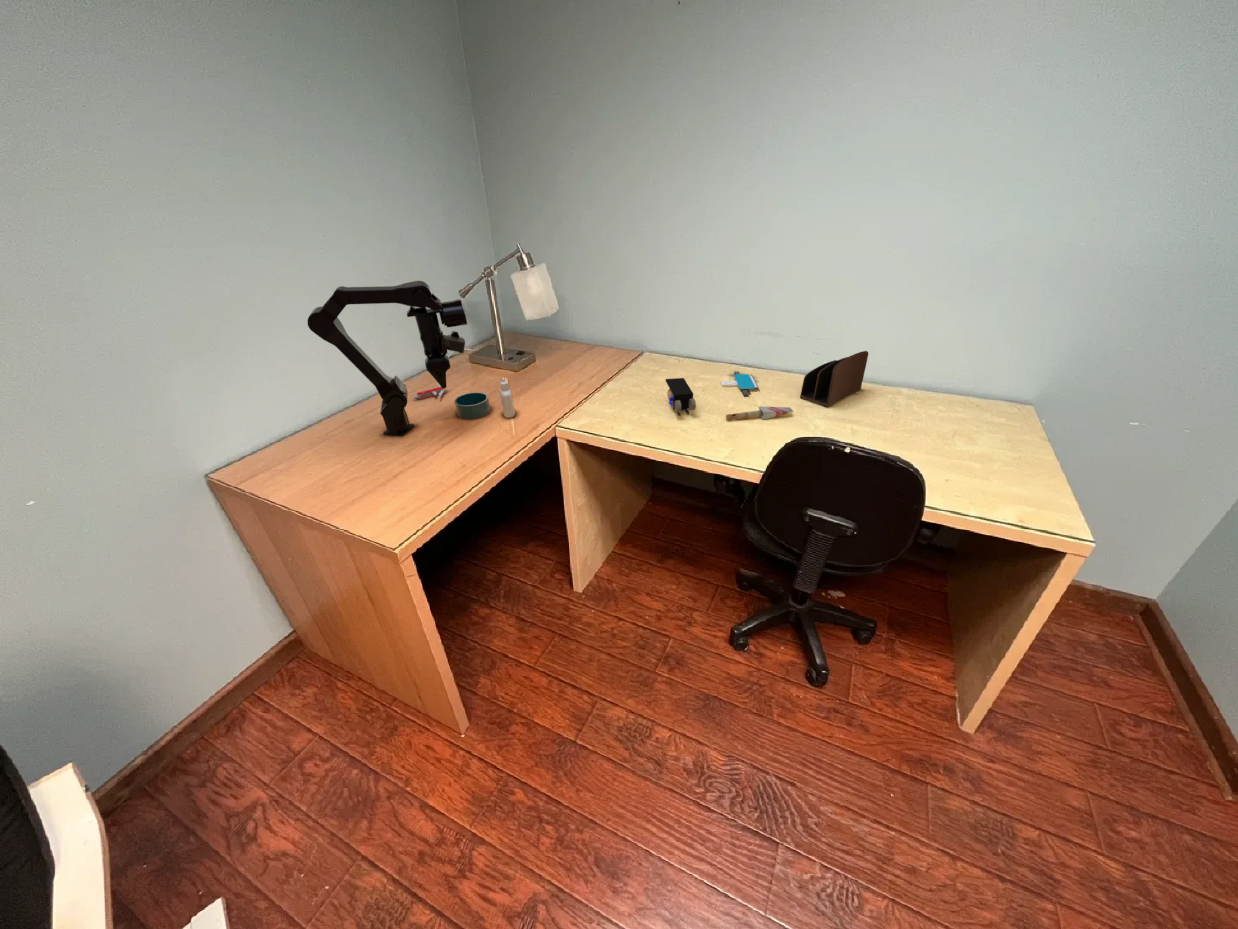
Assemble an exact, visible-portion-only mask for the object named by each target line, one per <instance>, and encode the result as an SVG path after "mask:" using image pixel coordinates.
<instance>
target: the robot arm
mask: <svg viewBox="0 0 1238 929" xmlns="http://www.w3.org/2000/svg"><path fill="white" fill-rule="evenodd" d="M371 304H372V305H376V304H400V305H404V306H407V307H409V309H408V310H406V317H407V318H412V317H414V318H415V322H416V325H417V326H416V327H417V329H418V333H419V338H420V342H421V344H422V347H423V353H424V356H426V358H425V359H424V364H425V368H426V372H428V373H429V374H430V375H431V377H432V378H433V379H434V380H435V381H436V382H437V383H439V385H440V386H441V387H442V388H445V389H446V388H447V372H448V371H449V370H450V369H451V362H450V359H449V358H450V357H449V356H448V355H447V354H448V351H451V352H456V353H459V354H464V353H465V347H466V339H465V338H463V336H460V334H459V332H458V331H455V330H453V331H451V333H450V334H444V332H443V330H442V329H441V325H444V327H446V328H454V327H460V326H461V327H462V326H468V321H467V320H468V319H467V316H466V312H465V309H464V306H463V302H462V299H461V298H460V299H454V300H451V301H443V302H442V301H441V299H439V297H437V296H436V295H435V294H434V293H433V292H432V290H431V287H430V285H429V284H427V283H426V282H424V281H423V280H414V281H409V282H404V283H401V284H398V285H393V286H391V285H390V286H387V285H386V286H343V285H341V286H338V287H336V288H335V289H334V292H333V294H332V295H331V296H329V298H328V299H327V301H326V302H325V303H324V304H323V305H322V306H317V307H315V308H314V309H313V310H312V311H311V313H310V314H309V316H308V317H307V326H308V329H309V330H310V331H311V332H312V333H314V334H315V335H316V336H317V337H319V338H320V339H322V340H323V341H325V342H327V343H329V344H331V345H332V346H334V347H335V348H336V349H337V350H339V352H340V353H342V355H344V356H345V358H346V359H347V360H348V361H349V362H350V363H351V364H353V366H354V367H355V368H356V369H357V370H358V371H359V372H361V373H362V375H363V376H364V377H365V378H366V379H367V380H368V381H369V382H370V383H371V384H372V385H373V386H374V387H375V389H376V390H377V392H378V395H379V396H380V398H381V400H382V401H381V406H380V413H379V414H380V416H382V419H383V422H384V425H385V429H386V430H385V431H383V435H387V436H397V437H398V436H400V437H402V436H403V437H404V436H405V435H406V434H407V433H408V432H409V431H411V429H414V427H415V424H414V423H410V420H409V417H408V414H407V411H406V407H407V404H408V396H409V394H408V388H407V384H405V383H403V382H402V381H401V380H400V378H399V377H398V375H394V377H391V376H389V375H387V374H386V373H385V372H384V371H383V370H382V369H381V368H380V367H379V365H377V363H375V362H374V360H373V359H372V358H371V357H370V356H369V355H368V354H367V353H366V352H365V351H364V350H363V349H362V347H360V346H359V345H358V344H357V342H356V341H354V340H353V339H352V338H351V337H350V336H349V335H348V332H347V331H346V329H345V327H344V325H343V323H342V322H341V320H340V318H339V315H340V314H341V313H342V311H343V310H344V309H345V308H346V307H347V306H349V305H371ZM438 314H439V318H440V320H439V318H438ZM439 321H440V322H439ZM440 323H441V325H440Z"/></svg>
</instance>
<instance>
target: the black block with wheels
mask: <svg viewBox="0 0 1238 929" xmlns="http://www.w3.org/2000/svg"><path fill="white" fill-rule="evenodd" d="M665 383H666V384H667V387H668V388H669V389H668V390H667V393H666V395H667V398H668V400H669V401H668V404H669V405H670V406H671V407H672V410H674V412H675V413H677V415H678V416H679V417H680V416H681V413H680V412H682V411H683V412H684V411H685V413H686V415H687V416H689V415H690V411H695V410H696V409H697V408H696V407H697V402H696V399H695V398H694V392H693V391H692V389H691V387H690V386H689V384H688V383H687V381H686V379H685V378H684V377H676V378H665Z"/></svg>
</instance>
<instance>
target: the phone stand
mask: <svg viewBox="0 0 1238 929" xmlns="http://www.w3.org/2000/svg"><path fill="white" fill-rule="evenodd" d="M733 377H734V380H731V379H730V380H720V382H719V383H720V386H721V387H722V388H724V387H737V388H738V389H740V391H741V394H742V396H743V397H744V398H745V397H749V395H752V393H751V392H760V391H761V390H760V387H759V384H758V382H757V381H756V378H755V377H754V376H753V374H752V373H751V374H748V373H740V372H739V371H738V370H736V371H735V370H734V371H733Z"/></svg>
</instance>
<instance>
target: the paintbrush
mask: <svg viewBox="0 0 1238 929" xmlns="http://www.w3.org/2000/svg"><path fill="white" fill-rule="evenodd" d="M793 412H794V410H793V409H792V408H791V407H788V406H787V407H786V406H761V405H760V406H758V410H752V411H744V412H736V413H729V414H728V413H727V414H725V419H726V421H727V422H728V421H734V420H743V419H748V418H757V417H758V418H760V419H761V421H764V420H768V419H772V418H774V417H779V416H782V415H786V414H789V413H793Z"/></svg>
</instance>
